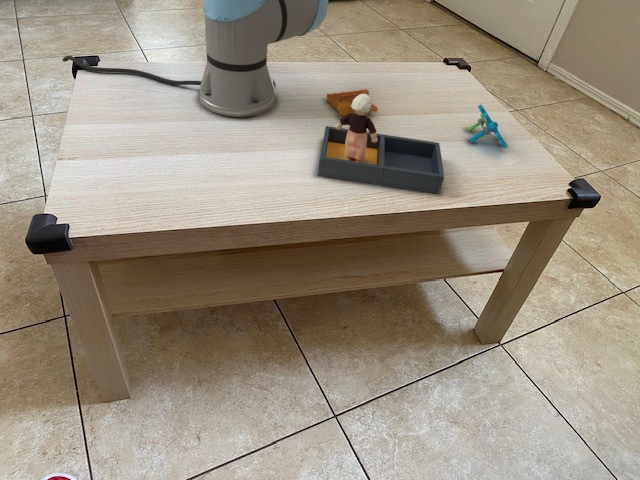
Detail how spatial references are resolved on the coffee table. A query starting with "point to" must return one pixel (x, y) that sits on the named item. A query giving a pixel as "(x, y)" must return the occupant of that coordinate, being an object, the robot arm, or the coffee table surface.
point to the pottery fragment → (347, 101)
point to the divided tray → (384, 161)
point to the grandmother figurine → (358, 129)
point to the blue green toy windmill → (486, 127)
